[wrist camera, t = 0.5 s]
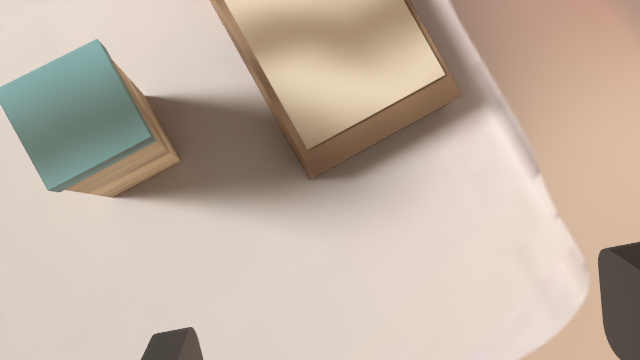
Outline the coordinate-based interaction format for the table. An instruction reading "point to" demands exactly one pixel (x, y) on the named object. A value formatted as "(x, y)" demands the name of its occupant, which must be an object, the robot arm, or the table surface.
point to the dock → (339, 71)
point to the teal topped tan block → (87, 124)
